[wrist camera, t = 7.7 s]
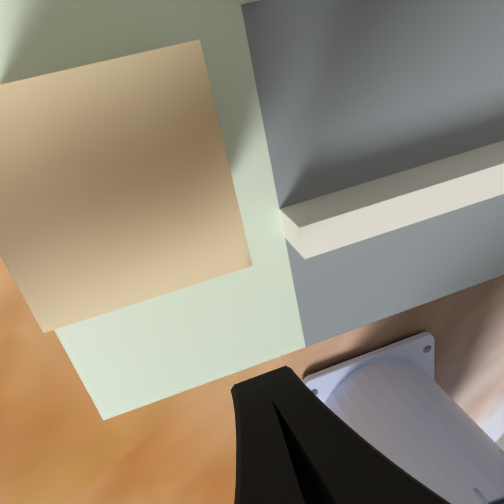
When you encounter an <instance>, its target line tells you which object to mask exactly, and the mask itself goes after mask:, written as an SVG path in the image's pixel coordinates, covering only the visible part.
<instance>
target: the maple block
mask: <svg viewBox="0 0 504 504" xmlns="http://www.w3.org/2000/svg"><path fill="white" fill-rule="evenodd" d="M0 256H1V258H2V260H3V261H4V263H5V265H6V267H7V269H8V270H9V272H10V274H11V276H12V278H13V279H14V281H15V283H16V285H17V287H18V288H19V290H20V292H21V294H22V295H23V297H24V299H25V301H26V303H27V304H28V306H29V308H30V310H31V312H32V313H33V315H34V317H35V319H36V321H37V322H38V324H39V326H40V328H41V330H42V331H43V333H46V332H49V331H52V330H55V329H58V328H61V327H64V326H68V325H71V324H74V323H77V322H80V321H83V320H86V319H89V318H92V317H95V316H99V315H102V314H105V313H108V312H111V311H114V310H117V309H120V308H123V307H127V306H130V305H133V304H136V303H139V302H142V301H145V300H148V299H151V298H155V297H158V296H161V295H164V294H167V293H170V292H173V291H176V290H179V289H183V288H186V287H189V286H192V285H195V284H198V283H201V282H204V281H207V280H211V279H214V278H217V277H220V276H223V275H226V274H229V273H232V272H235V271H238V270H242V269H245V268H248V267H251V266H253V265H252V260H251V256H250V252H249V248H248V243H247V239H246V235H245V231H244V226H243V222H242V218H241V214H240V209H239V205H238V201H237V197H236V192H235V188H234V184H233V180H232V175H231V171H230V167H229V163H228V158H227V154H226V150H225V146H224V141H223V137H222V133H221V129H220V124H219V120H218V116H217V112H216V107H215V103H214V99H213V95H212V90H211V86H210V82H209V77H208V73H207V69H206V65H205V60H204V56H203V52H202V48H201V43H200V39H198V40H194V41H190V42H185V43H181V44H176V45H172V46H168V47H163V48H159V49H154V50H150V51H146V52H141V53H137V54H133V55H128V56H124V57H119V58H115V59H111V60H106V61H102V62H97V63H93V64H89V65H84V66H80V67H76V68H71V69H67V70H62V71H58V72H54V73H49V74H45V75H40V76H36V77H32V78H27V79H23V80H18V81H14V82H10V83H5V84H1V85H0Z"/></svg>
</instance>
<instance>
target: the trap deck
mask: <svg viewBox="0 0 504 504" xmlns="http://www.w3.org/2000/svg"><path fill="white" fill-rule="evenodd" d="M198 39H200V43H201V48H202V52H203V56H204V60H205V65H206V69H207V73H208V77H209V82H210V86H211V90H212V95H213V99H214V103H215V107H216V112H217V116H218V120H219V124H220V129H221V133H222V137H223V141H224V146H225V150H226V154H227V158H228V163H229V167H230V171H231V175H232V180H233V184H234V188H235V192H236V197H237V201H238V205H239V209H240V214H241V218H242V222H243V226H244V231H245V235H246V239H247V243H248V248H249V252H250V256H251V260H252V265H253V266H251V267H248V268H245V269H242V270H238V271H235V272H232V273H229V274H226V275H223V276H220V277H217V278H214V279H211V280H207V281H204V282H201V283H198V284H195V285H192V286H189V287H186V288H183V289H179V290H176V291H173V292H170V293H167V294H164V295H161V296H158V297H155V298H151V299H148V300H145V301H142V302H139V303H136V304H133V305H130V306H127V307H123V308H120V309H117V310H114V311H111V312H108V313H105V314H102V315H99V316H95V317H92V318H89V319H86V320H83V321H80V322H77V323H74V324H71V325H68V326H64V327H61V328H58V329H55V332H56V334H57V336H58V338H59V340H60V341H61V343H62V345H63V347H64V349H65V351H66V352H67V354H68V356H69V358H70V360H71V362H72V363H73V365H74V367H75V369H76V371H77V373H78V374H79V376H80V378H81V380H82V382H83V384H84V385H85V387H86V389H87V391H88V393H89V395H90V396H91V398H92V400H93V402H94V404H95V406H96V407H97V409H98V411H99V413H100V415H101V417H102V418H103V420H106V419H109V418H111V417H114V416H117V415H120V414H122V413H125V412H128V411H131V410H133V409H136V408H139V407H142V406H144V405H147V404H150V403H153V402H155V401H158V400H161V399H164V398H166V397H169V396H172V395H175V394H177V393H180V392H183V391H186V390H188V389H191V388H194V387H197V386H199V385H202V384H205V383H208V382H210V381H213V380H216V379H219V378H221V377H224V376H227V375H230V374H232V373H235V372H238V371H241V370H244V369H246V368H249V367H252V366H255V365H257V364H260V363H263V362H266V361H268V360H271V359H274V358H277V357H279V356H282V355H285V354H288V353H290V352H293V351H296V350H299V349H301V348H304V347H307V346H310V345H312V344H315V343H318V342H321V341H323V340H326V339H329V338H332V337H334V336H337V335H340V334H343V333H345V332H348V331H351V330H354V329H356V328H359V327H362V326H365V325H367V324H370V323H373V322H376V321H378V320H381V319H384V318H387V317H389V316H392V315H395V314H398V313H400V312H403V311H406V310H409V309H411V308H414V307H417V306H420V305H422V304H425V303H428V302H431V301H433V300H436V299H439V298H442V297H444V296H447V295H450V294H453V293H455V292H458V291H461V290H464V289H466V288H469V287H472V286H475V285H477V284H480V283H483V282H486V281H488V280H491V279H494V278H497V277H499V276H502V275H504V0H0V85H1V84H5V83H10V82H14V81H18V80H23V79H27V78H32V77H36V76H40V75H45V74H49V73H54V72H58V71H62V70H67V69H71V68H76V67H80V66H84V65H89V64H93V63H97V62H102V61H106V60H111V59H115V58H119V57H124V56H128V55H133V54H137V53H141V52H146V51H150V50H154V49H159V48H163V47H168V46H172V45H176V44H181V43H185V42H190V41H194V40H198Z"/></svg>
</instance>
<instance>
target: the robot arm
mask: <svg viewBox="0 0 504 504" xmlns="http://www.w3.org/2000/svg"><path fill="white" fill-rule="evenodd" d="M313 389H314V390H313ZM311 390H313V391H311ZM231 394H232V398H233V403H234V410H235V421H236V488H235V502H234V504H504V452H503V451H502V450H501V448H500V447H499V446H498V445H497V444H496V443H495V442H494V441H493V440H492V439H491V438H490V437H489V436H488V435H487V434H486V433H485V432H484V431H483V430H482V429H481V428H480V427H479V426H478V425H477V424H476V423H475V422H474V421H473V420H472V419H471V418H470V417H469V416H468V415H467V414H466V413H465V412H464V411H463V410H462V408H461V407H460V406H459V405H458V404H457V403H456V402H455V401H454V400H453V399H452V398H451V397H450V396H449V395H448V394H447V393H446V392H445V391H444V390H443V389H442V388H441V387H440V386H439V385H438V384H437V383H436V382H435V381H434V337H433V336H432V335H431V334H430V333H429V332H422V333H420V334H417V335H414V336H412V337H409V338H406V339H404V340H401V341H398V342H396V343H393V344H390V345H388V346H385V347H382V348H380V349H377V350H374V351H372V352H369V353H366V354H364V355H361V356H358V357H356V358H353V359H350V360H348V361H345V362H342V363H340V364H337V365H334V366H332V367H329V368H326V369H324V370H321V371H318V372H316V373H313V374H310V375H308V376H306V377H305V378H304V379H303V381H301V379H300V378H299V377H298V376H297V375H296V374H295V373H294V371H293V370H292V369H291V368H289V367H287V366H284V367H281V368H278V369H276V370H273V371H270V372H267V373H265V374H262V375H259V376H257V377H254V378H251V379H248V380H246V381H243V382H240V383H238V384H235V385H234V386H233V387H232V389H231Z"/></svg>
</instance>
